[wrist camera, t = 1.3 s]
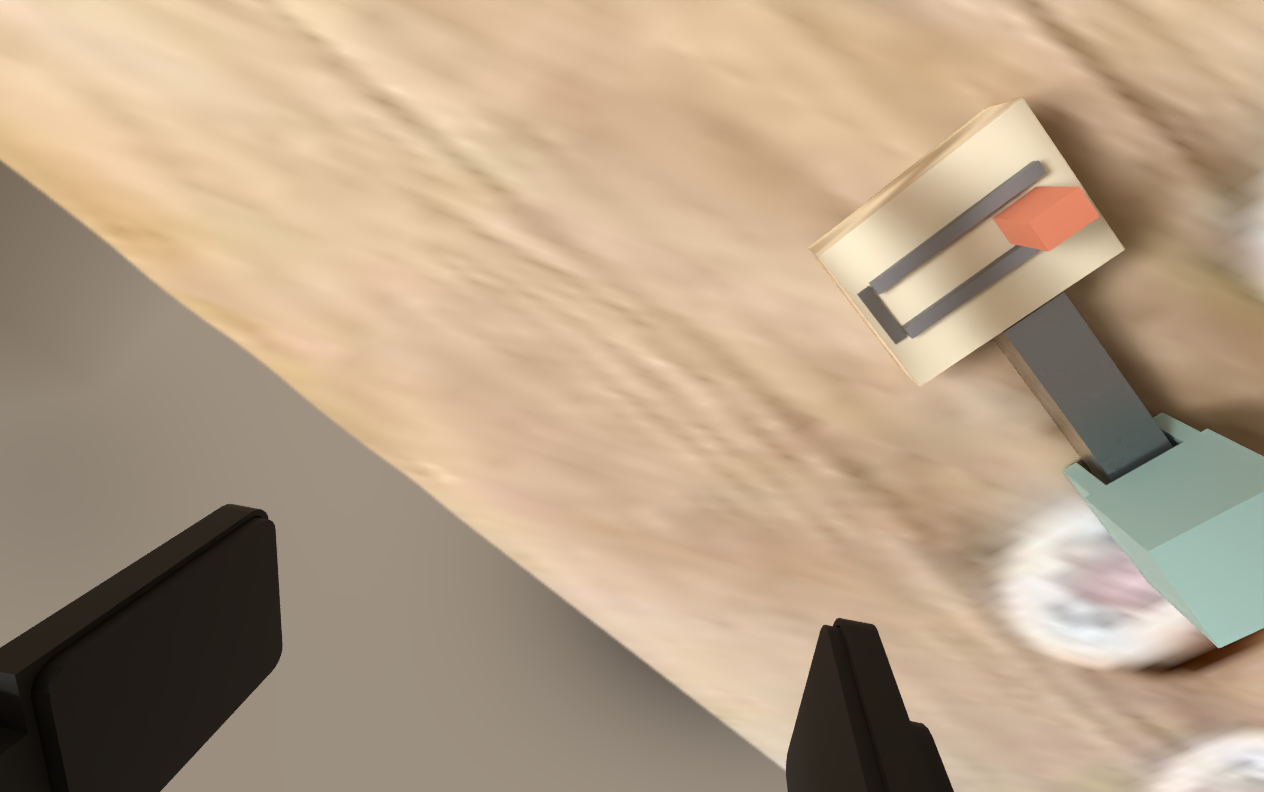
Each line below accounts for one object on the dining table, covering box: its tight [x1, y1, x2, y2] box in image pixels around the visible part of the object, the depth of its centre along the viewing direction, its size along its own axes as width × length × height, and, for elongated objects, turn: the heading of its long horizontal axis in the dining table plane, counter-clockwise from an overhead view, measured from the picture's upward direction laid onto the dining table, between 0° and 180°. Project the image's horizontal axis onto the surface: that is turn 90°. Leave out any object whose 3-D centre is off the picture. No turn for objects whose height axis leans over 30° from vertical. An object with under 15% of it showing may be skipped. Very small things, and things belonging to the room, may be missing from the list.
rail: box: [993, 291, 1173, 485], centre depth 32 cm, size 5×17×4 cm, turn 41°
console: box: [808, 97, 1125, 387], centre depth 30 cm, size 10×8×5 cm
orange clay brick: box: [992, 186, 1100, 251], centre depth 26 cm, size 2×1×4 cm
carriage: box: [1062, 412, 1264, 648], centre depth 30 cm, size 6×6×8 cm
